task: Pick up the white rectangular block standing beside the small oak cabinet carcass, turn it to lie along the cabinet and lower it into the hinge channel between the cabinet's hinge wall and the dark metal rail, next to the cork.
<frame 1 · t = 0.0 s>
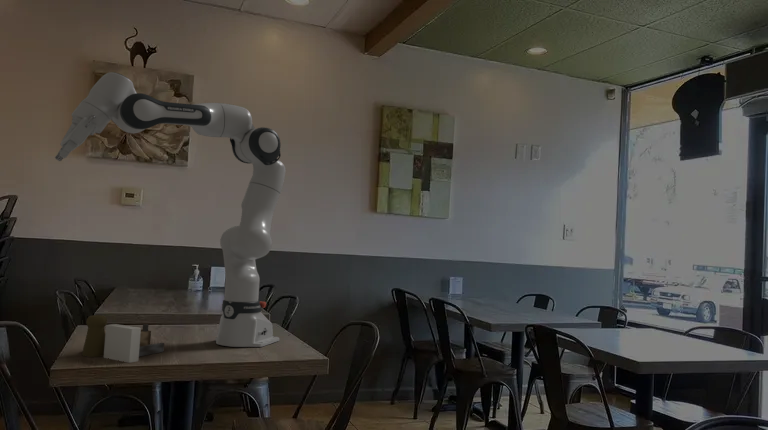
hand: (59, 158, 160), 54 cm above the table, tool tilted 30°, fingers open, 8 cm apart
white rectangular block: (120, 359, 157), on the table
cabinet: (122, 350, 169), on the table
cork: (94, 355, 161), on the table
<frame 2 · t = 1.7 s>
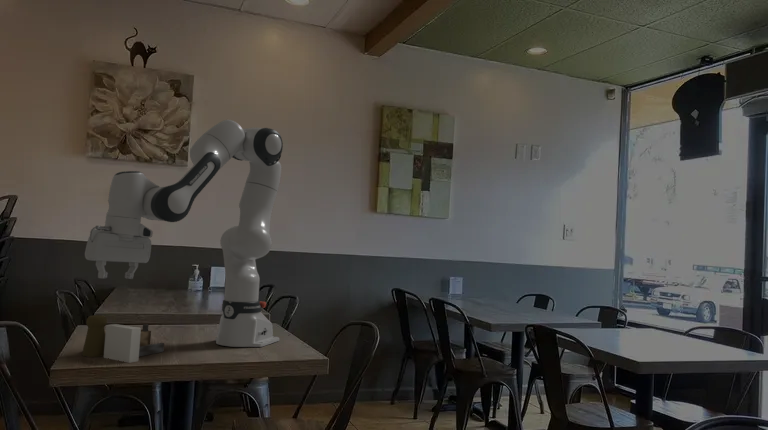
hand: (115, 278, 157), 22 cm above the table, tool pointing down, fingers open, 8 cm apart
nothing on the table moved.
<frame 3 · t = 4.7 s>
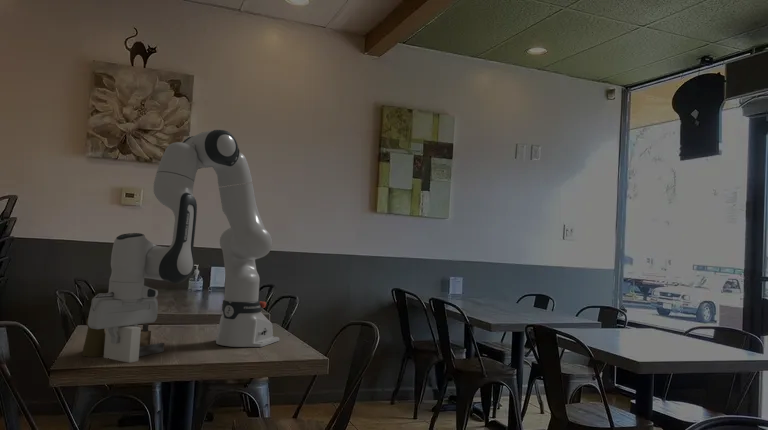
hand: (122, 342, 158), 5 cm above the table, tool pointing down, fingers closed on white rectangular block, 3 cm apart
white rectangular block: (120, 359, 157), on the table, touching gripper
everything else where it was.
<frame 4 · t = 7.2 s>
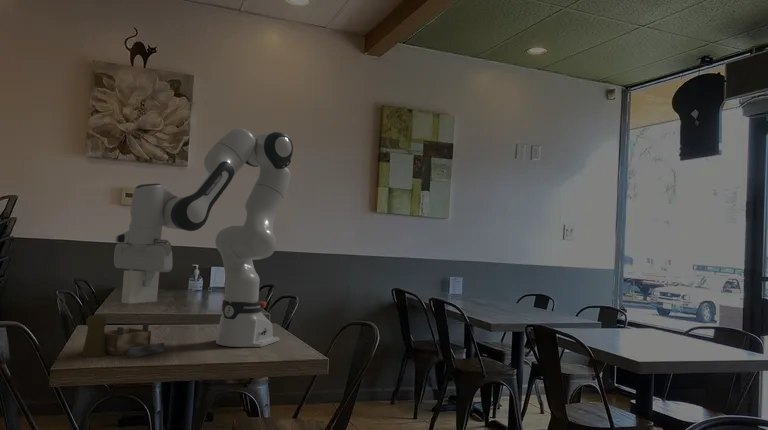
hand: (141, 285, 166), 19 cm above the table, tool pointing down, fingers closed on white rectangular block, 3 cm apart
white rectangular block: (139, 301, 166), point 15 cm above the table, touching gripper
everything else where it was.
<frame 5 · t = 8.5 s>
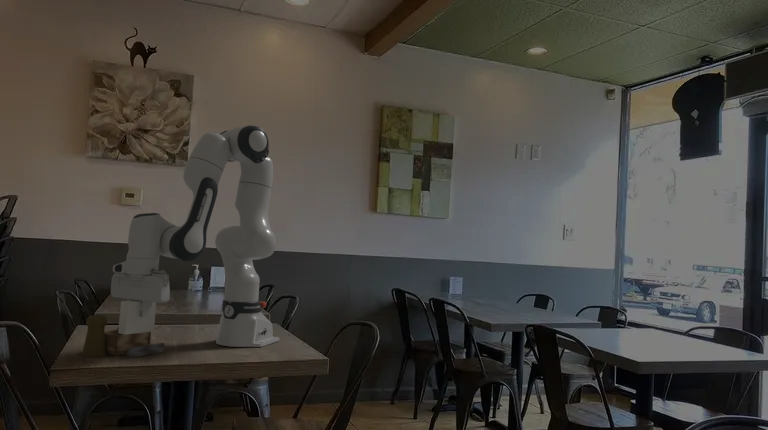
hand: (138, 316, 166), 11 cm above the table, tool pointing down, fingers closed on white rectangular block, 3 cm apart
white rectangular block: (136, 332, 165), point 6 cm above the table, touching gripper
everything else where it was.
when the fingers open (7 cm above the table, at t = 9.6 s): white rectangular block drops 2 cm, on the table.
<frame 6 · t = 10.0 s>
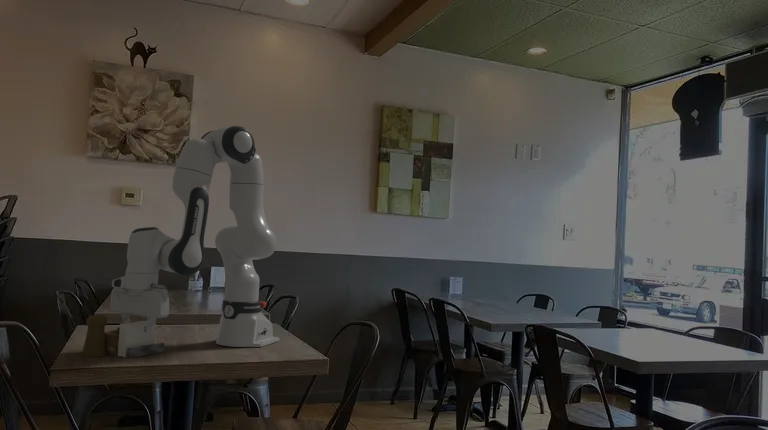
hand: (137, 330, 166), 7 cm above the table, tool pointing down, fingers open, 7 cm apart
white rectangular block: (135, 353, 165), on the table
everything else where it was.
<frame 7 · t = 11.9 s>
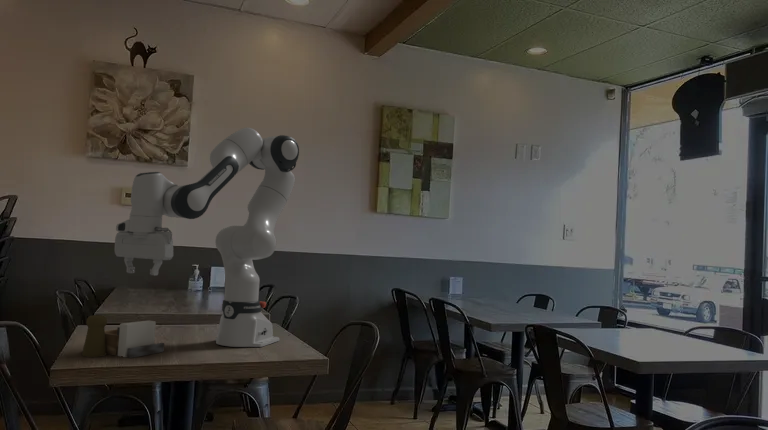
hand: (142, 274, 167), 23 cm above the table, tool pointing down, fingers open, 8 cm apart
nothing on the table moved.
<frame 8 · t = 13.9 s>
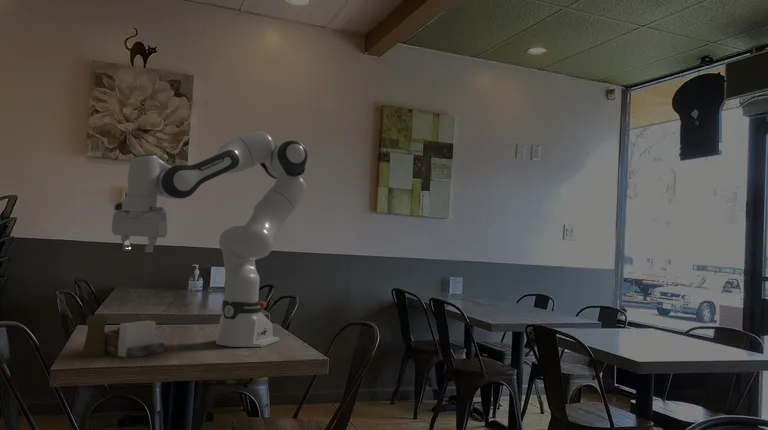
hand: (137, 251, 176), 29 cm above the table, tool pointing down, fingers open, 8 cm apart
nothing on the table moved.
at the end: white rectangular block inside the target area (0.2 cm from its centre), on the table; white rectangular block tilted 0°; the gripper is holding nothing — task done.
